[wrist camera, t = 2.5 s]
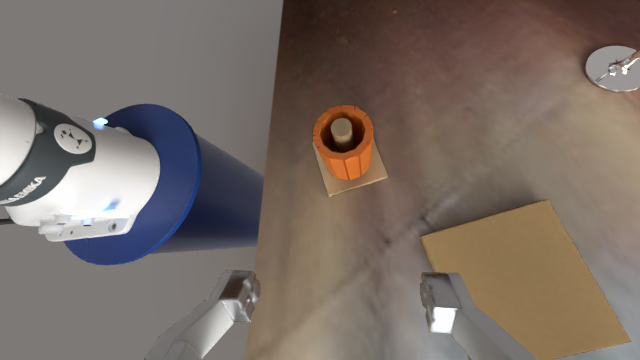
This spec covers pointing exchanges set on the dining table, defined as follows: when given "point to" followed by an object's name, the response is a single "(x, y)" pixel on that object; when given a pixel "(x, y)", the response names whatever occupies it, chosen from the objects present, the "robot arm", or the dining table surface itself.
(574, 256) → the cork mat
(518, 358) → the robot arm
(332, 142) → the orange ring
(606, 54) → the wineglass
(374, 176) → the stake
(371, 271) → the dining table surface
